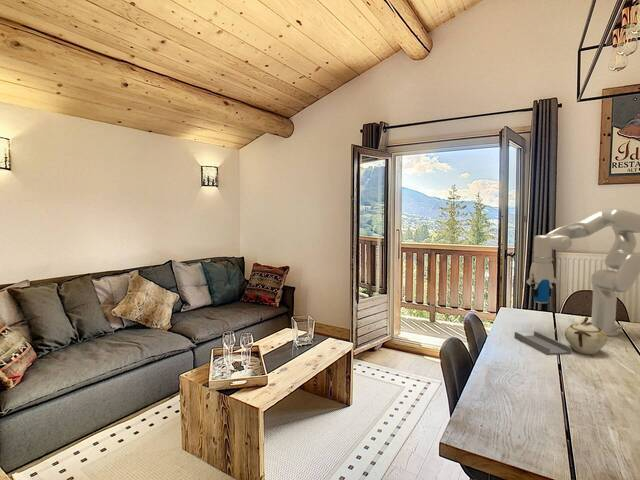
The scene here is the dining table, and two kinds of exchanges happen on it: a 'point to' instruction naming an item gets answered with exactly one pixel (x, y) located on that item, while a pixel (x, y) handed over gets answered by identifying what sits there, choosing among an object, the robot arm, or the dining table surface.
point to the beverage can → (543, 292)
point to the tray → (544, 344)
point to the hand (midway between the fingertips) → (541, 296)
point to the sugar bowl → (585, 337)
